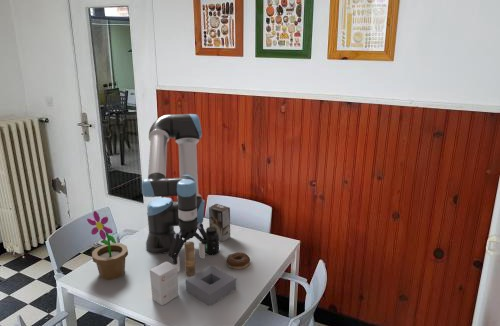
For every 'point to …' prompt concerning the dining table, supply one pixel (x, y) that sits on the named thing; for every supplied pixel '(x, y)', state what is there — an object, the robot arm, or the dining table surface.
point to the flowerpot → (108, 251)
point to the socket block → (210, 285)
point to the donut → (238, 260)
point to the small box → (164, 282)
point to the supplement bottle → (212, 241)
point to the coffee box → (220, 220)
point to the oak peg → (189, 258)
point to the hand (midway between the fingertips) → (190, 263)
